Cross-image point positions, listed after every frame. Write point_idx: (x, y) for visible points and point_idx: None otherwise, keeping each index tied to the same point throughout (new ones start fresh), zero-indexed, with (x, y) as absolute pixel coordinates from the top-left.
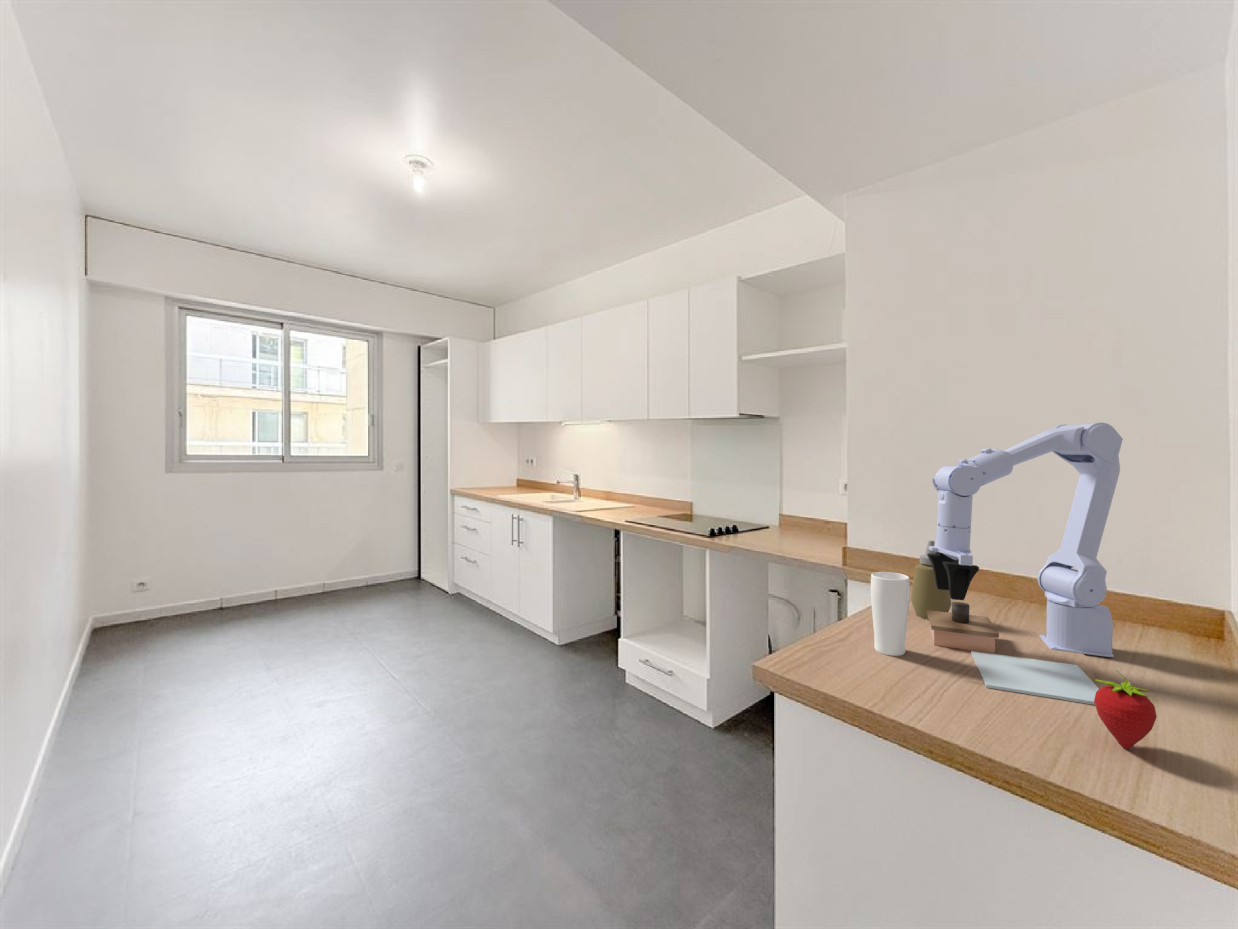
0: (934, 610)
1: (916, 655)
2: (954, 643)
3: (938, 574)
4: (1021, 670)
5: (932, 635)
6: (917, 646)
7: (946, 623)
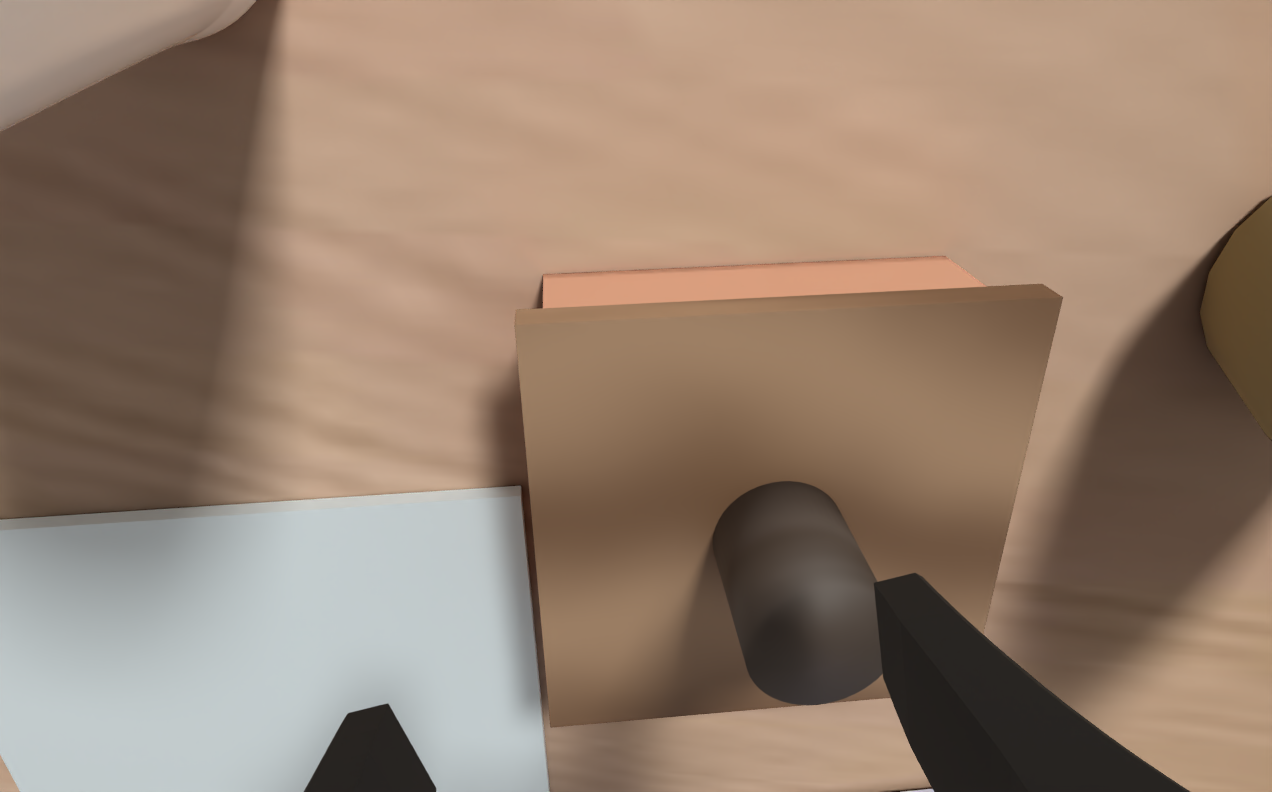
0: (1247, 340)
1: (233, 136)
2: None
3: (988, 768)
4: (305, 693)
5: (688, 283)
6: (481, 150)
7: (652, 442)
